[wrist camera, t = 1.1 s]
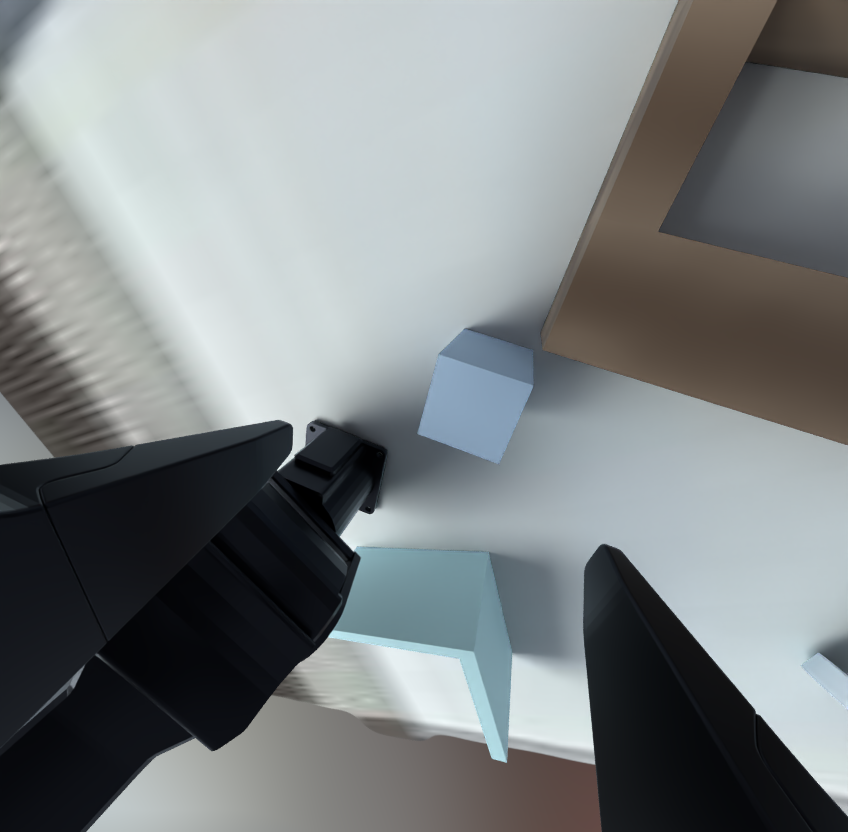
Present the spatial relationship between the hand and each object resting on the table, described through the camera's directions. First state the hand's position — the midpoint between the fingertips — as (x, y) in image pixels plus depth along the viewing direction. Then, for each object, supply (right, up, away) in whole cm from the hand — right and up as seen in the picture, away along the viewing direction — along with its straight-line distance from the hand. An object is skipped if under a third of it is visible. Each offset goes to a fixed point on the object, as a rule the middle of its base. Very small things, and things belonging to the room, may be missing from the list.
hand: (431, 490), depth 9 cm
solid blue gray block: (+4, +5, +10) cm, 12 cm away
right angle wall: (+1, -14, +21) cm, 25 cm away
